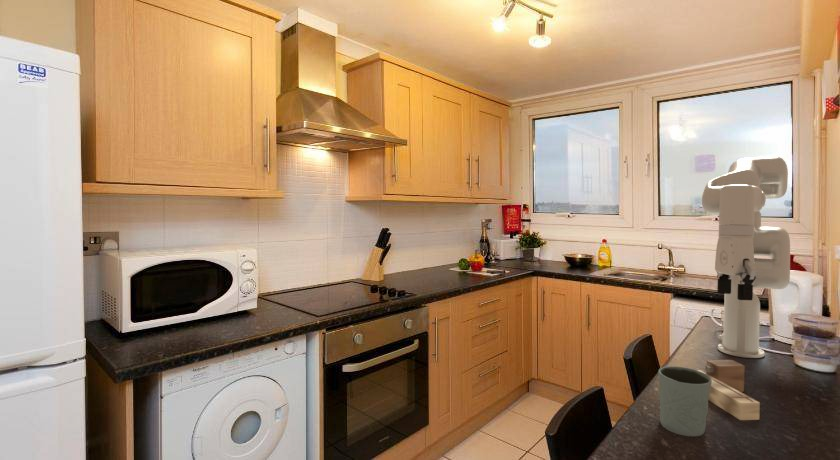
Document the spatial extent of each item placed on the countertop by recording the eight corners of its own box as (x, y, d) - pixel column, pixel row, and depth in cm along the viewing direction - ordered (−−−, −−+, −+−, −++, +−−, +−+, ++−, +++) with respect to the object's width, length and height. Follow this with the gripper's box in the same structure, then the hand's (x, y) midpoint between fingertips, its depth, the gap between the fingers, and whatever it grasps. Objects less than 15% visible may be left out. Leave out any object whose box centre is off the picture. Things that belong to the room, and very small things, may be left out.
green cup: (662, 412, 105) (663, 362, 104) (713, 425, 98) (714, 372, 98) (653, 429, 97) (653, 376, 96) (707, 444, 90) (708, 387, 90)
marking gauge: (700, 385, 120) (701, 360, 119) (736, 384, 120) (736, 359, 120) (712, 392, 115) (713, 366, 115) (749, 391, 116) (750, 365, 115)
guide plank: (683, 384, 120) (684, 370, 120) (699, 384, 120) (700, 369, 120) (740, 420, 100) (740, 402, 100) (759, 419, 100) (759, 402, 100)
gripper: (704, 230, 124) (702, 290, 125) (738, 232, 107) (736, 302, 108) (733, 231, 123) (731, 291, 124) (773, 233, 106) (770, 303, 106)
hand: (734, 296), depth 116 cm, fingers open, 9 cm apart
